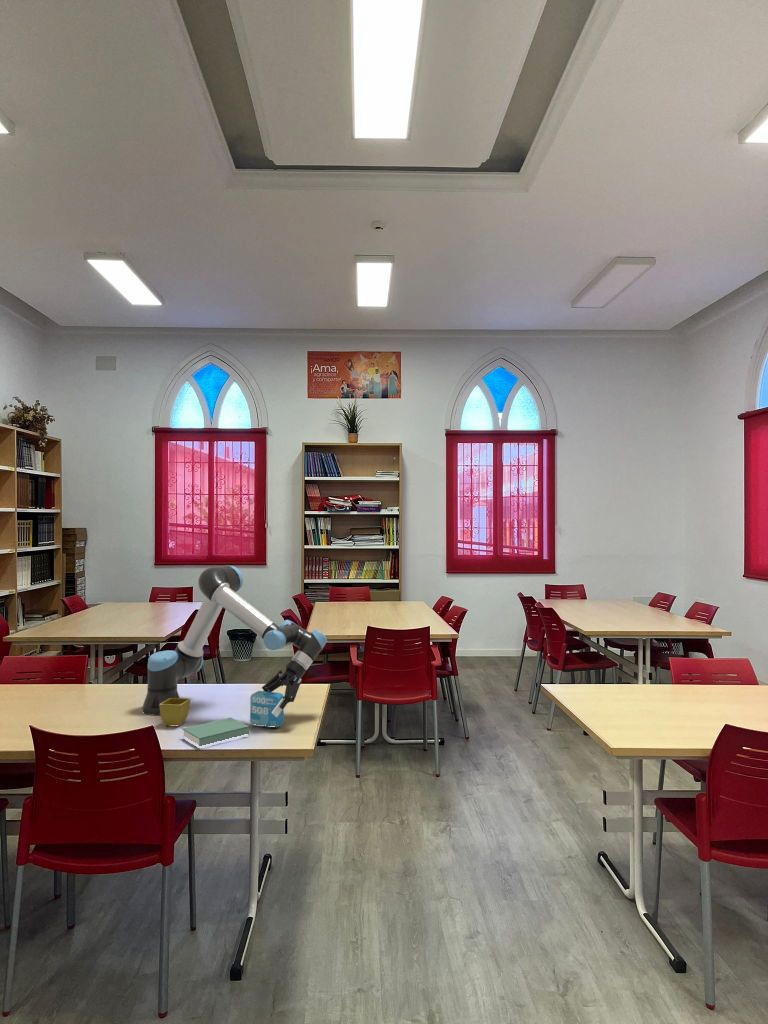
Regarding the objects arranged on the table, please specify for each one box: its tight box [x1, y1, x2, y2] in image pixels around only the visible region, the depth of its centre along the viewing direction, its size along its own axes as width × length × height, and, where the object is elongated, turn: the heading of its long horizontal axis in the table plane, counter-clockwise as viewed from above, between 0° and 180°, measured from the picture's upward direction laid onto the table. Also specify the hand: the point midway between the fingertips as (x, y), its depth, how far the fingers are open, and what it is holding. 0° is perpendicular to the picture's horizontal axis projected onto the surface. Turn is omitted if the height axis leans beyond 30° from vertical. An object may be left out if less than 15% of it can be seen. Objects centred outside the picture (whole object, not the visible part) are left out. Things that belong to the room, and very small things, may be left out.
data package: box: [249, 690, 285, 728], centre depth 231 cm, size 12×4×12 cm, turn 73°
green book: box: [182, 717, 250, 746], centre depth 218 cm, size 14×19×4 cm
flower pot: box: [159, 698, 191, 726], centre depth 233 cm, size 9×9×9 cm
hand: (264, 711), depth 230 cm, fingers closed on data package, 12 cm apart
